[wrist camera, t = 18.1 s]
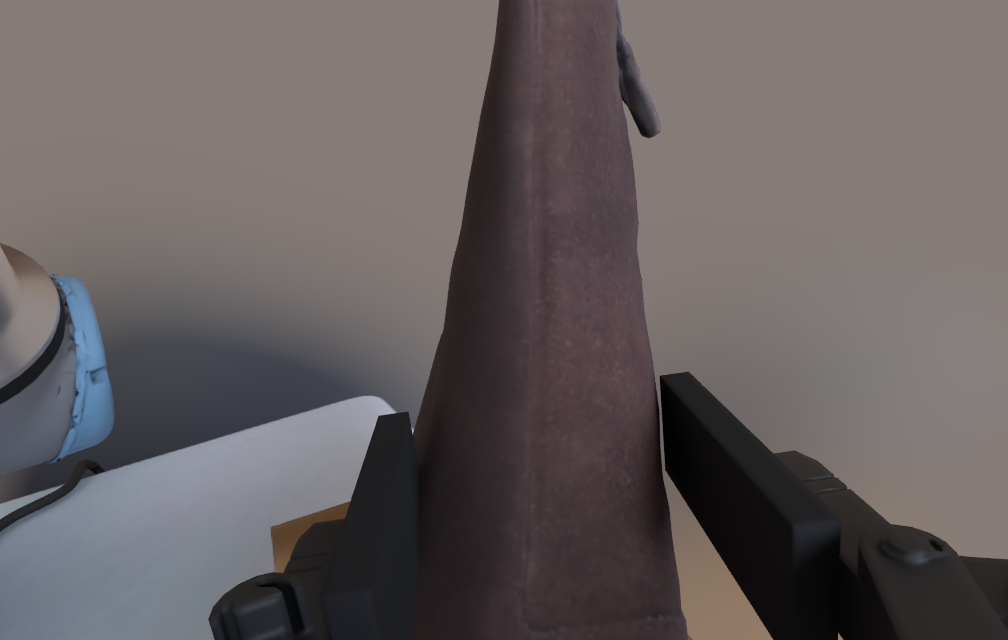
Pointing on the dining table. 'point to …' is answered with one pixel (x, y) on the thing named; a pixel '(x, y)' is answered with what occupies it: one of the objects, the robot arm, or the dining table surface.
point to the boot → (548, 359)
